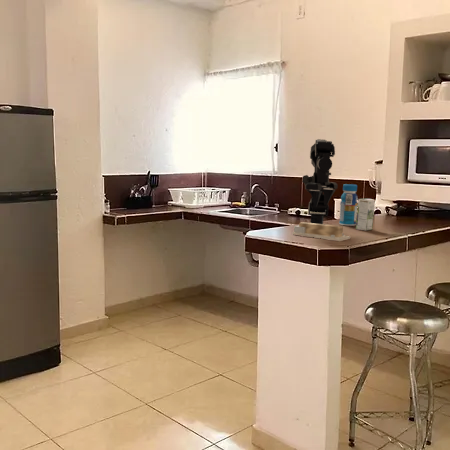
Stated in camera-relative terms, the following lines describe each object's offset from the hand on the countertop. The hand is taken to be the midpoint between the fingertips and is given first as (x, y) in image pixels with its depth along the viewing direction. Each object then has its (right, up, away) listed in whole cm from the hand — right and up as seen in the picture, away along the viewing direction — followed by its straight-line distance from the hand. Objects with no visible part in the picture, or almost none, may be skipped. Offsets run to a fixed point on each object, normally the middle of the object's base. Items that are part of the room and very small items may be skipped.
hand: (320, 205), depth 242 cm
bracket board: (-1, -13, -9) cm, 16 cm away
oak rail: (-2, -12, -9) cm, 15 cm away
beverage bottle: (+19, -9, +32) cm, 38 cm away
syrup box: (+23, -11, +17) cm, 31 cm away
